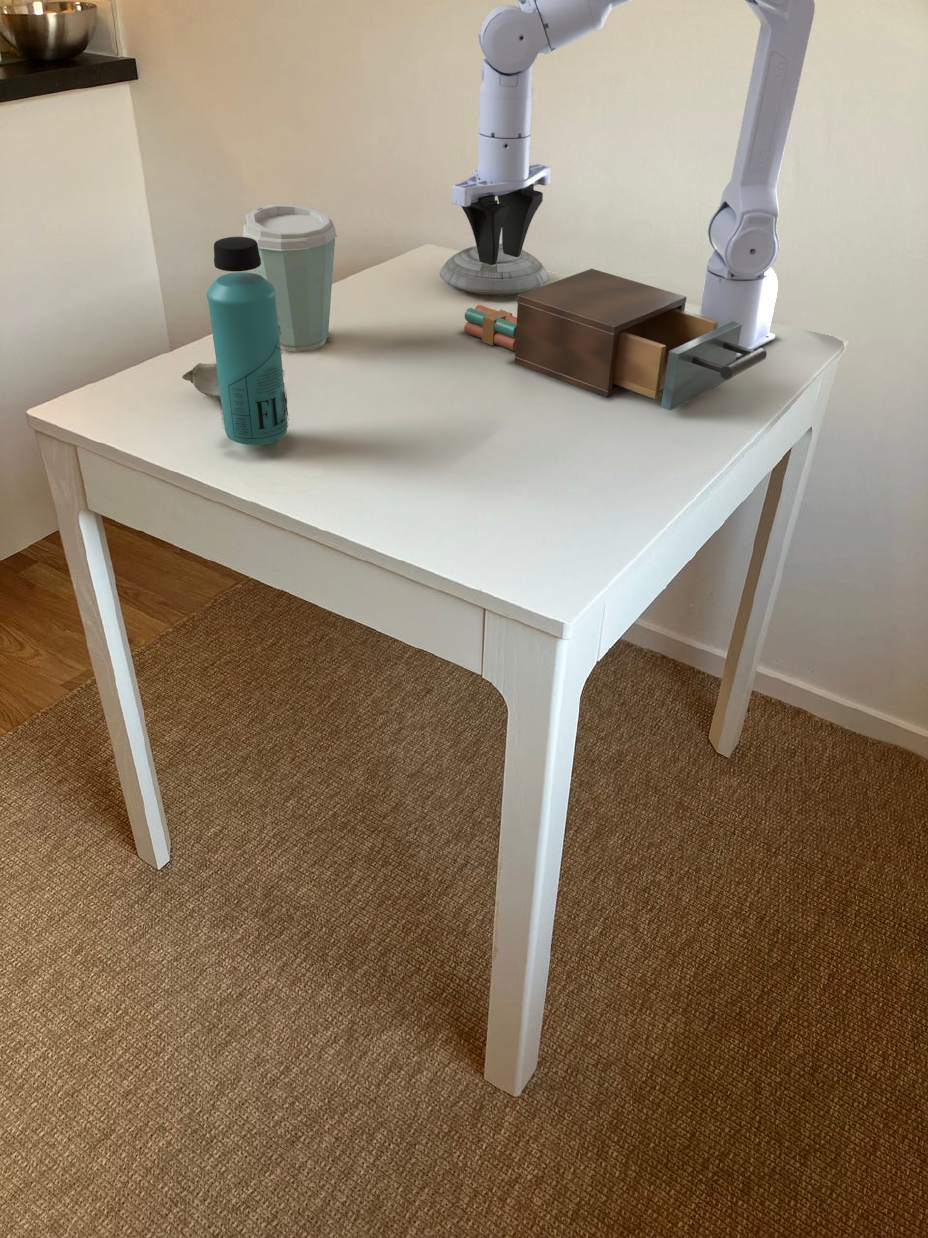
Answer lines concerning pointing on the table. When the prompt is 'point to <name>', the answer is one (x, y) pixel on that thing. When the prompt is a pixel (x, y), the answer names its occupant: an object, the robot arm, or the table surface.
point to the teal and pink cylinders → (491, 326)
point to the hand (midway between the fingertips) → (499, 258)
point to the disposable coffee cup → (296, 269)
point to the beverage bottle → (247, 346)
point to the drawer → (680, 356)
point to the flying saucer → (494, 273)
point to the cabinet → (584, 326)
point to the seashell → (204, 379)
